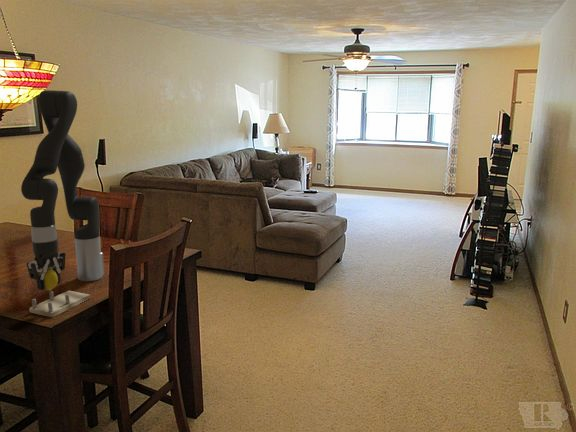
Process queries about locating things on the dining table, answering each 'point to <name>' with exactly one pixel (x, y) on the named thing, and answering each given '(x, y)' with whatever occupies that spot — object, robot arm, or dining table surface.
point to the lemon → (50, 279)
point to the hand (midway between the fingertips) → (49, 286)
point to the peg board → (58, 303)
